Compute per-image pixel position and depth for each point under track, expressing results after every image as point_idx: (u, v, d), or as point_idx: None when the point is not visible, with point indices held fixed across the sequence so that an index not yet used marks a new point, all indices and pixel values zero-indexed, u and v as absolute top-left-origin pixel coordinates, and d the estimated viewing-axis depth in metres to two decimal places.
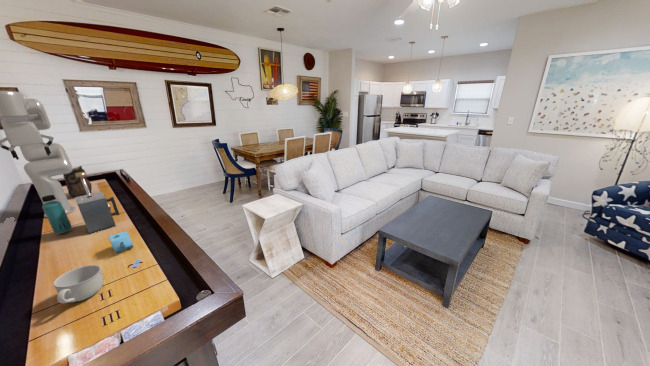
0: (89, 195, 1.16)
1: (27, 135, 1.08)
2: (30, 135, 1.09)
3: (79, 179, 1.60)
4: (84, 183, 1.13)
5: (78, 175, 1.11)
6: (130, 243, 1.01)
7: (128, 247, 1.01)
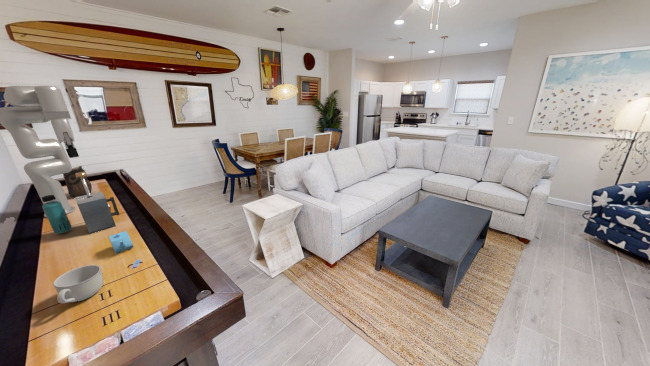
0: (89, 195, 1.16)
1: None
2: None
3: (79, 179, 1.60)
4: (84, 183, 1.13)
5: (78, 175, 1.11)
6: (130, 243, 1.01)
7: (128, 247, 1.01)
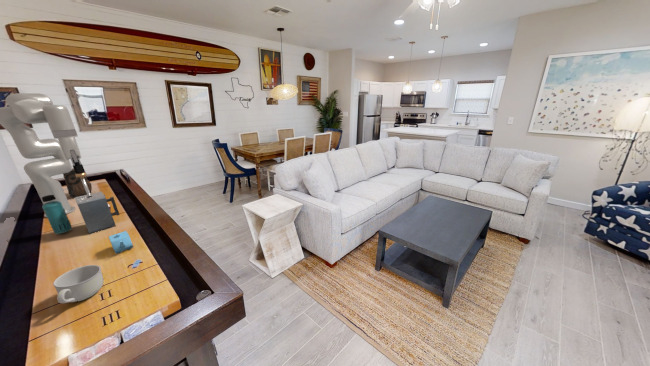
0: (89, 195, 1.16)
1: None
2: None
3: (79, 179, 1.60)
4: (84, 183, 1.13)
5: (78, 175, 1.11)
6: (130, 243, 1.01)
7: (128, 247, 1.01)
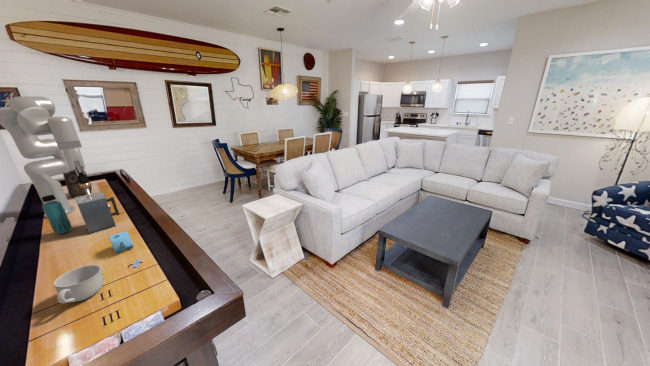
0: None
1: None
2: None
3: None
4: (88, 193, 1.15)
5: (82, 185, 1.12)
6: (130, 243, 1.01)
7: (128, 247, 1.01)
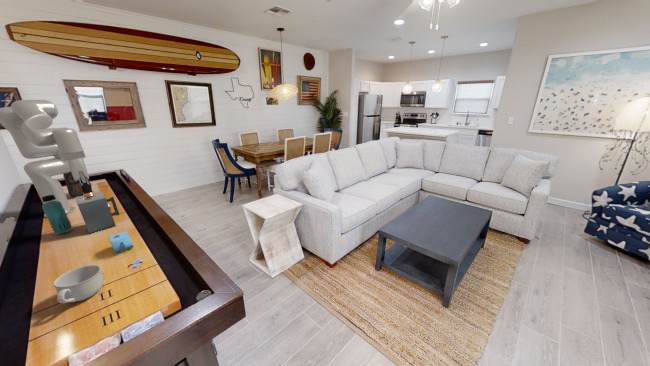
0: None
1: None
2: None
3: None
4: None
5: (86, 195, 1.14)
6: (130, 243, 1.01)
7: (128, 247, 1.01)
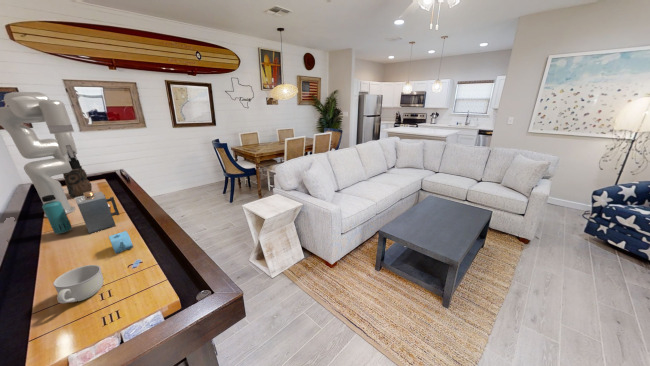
0: None
1: None
2: None
3: (79, 179, 1.60)
4: None
5: (86, 195, 1.14)
6: (130, 243, 1.01)
7: (128, 247, 1.01)
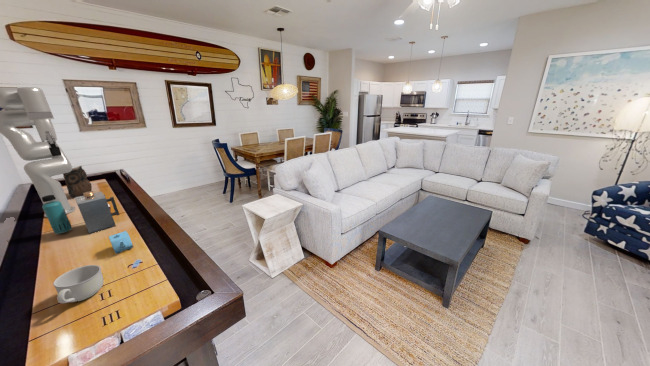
0: None
1: None
2: None
3: (79, 179, 1.60)
4: None
5: (86, 195, 1.14)
6: (130, 243, 1.01)
7: (128, 247, 1.01)
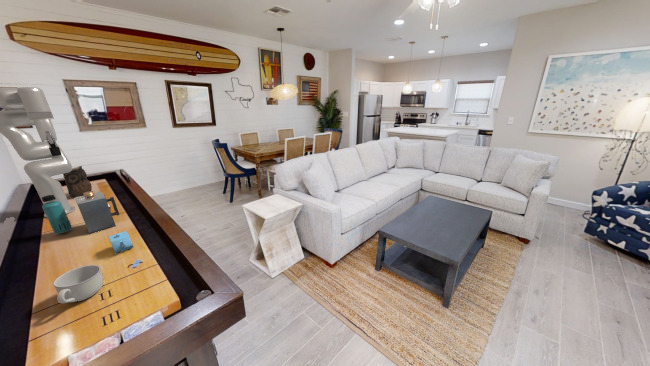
0: None
1: None
2: None
3: (79, 179, 1.60)
4: None
5: (86, 195, 1.14)
6: (130, 243, 1.01)
7: (128, 247, 1.01)
